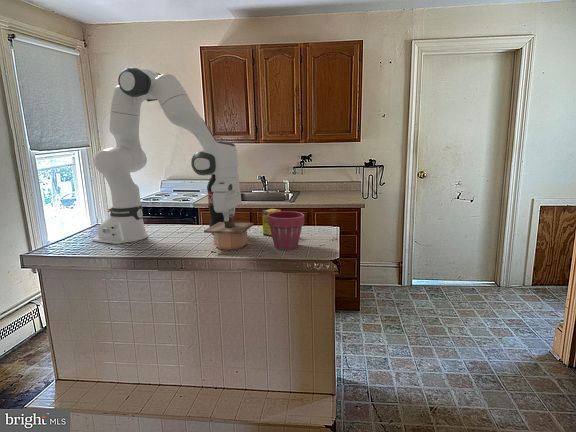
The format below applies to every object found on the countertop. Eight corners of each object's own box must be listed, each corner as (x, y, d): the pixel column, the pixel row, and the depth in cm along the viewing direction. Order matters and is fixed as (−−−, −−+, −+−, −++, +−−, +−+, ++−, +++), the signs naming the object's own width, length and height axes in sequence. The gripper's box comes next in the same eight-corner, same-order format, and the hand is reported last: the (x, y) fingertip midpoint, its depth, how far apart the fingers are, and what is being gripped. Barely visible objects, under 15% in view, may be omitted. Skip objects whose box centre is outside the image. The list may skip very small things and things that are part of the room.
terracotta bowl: (210, 249, 149) (209, 231, 148) (222, 241, 160) (221, 224, 159) (240, 250, 146) (239, 232, 145) (250, 242, 158) (249, 225, 156)
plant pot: (311, 244, 153) (310, 212, 150) (293, 253, 141) (292, 219, 139) (280, 240, 160) (279, 209, 158) (260, 248, 148) (259, 216, 146)
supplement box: (272, 237, 165) (272, 212, 163) (262, 235, 169) (261, 210, 167) (282, 234, 169) (281, 209, 167) (272, 232, 173) (271, 208, 171)
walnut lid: (204, 232, 147) (203, 220, 146) (219, 223, 161) (218, 212, 160) (241, 233, 143) (241, 221, 142) (254, 224, 158) (253, 213, 157)
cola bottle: (213, 230, 180) (209, 165, 174) (231, 230, 179) (227, 164, 173) (207, 234, 172) (202, 166, 166) (225, 234, 171) (221, 166, 165)
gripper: (229, 181, 159) (231, 214, 162) (209, 187, 140) (211, 225, 142) (244, 181, 158) (245, 214, 161) (225, 187, 138) (227, 225, 141)
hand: (229, 219), depth 151 cm, fingers open, 3 cm apart
